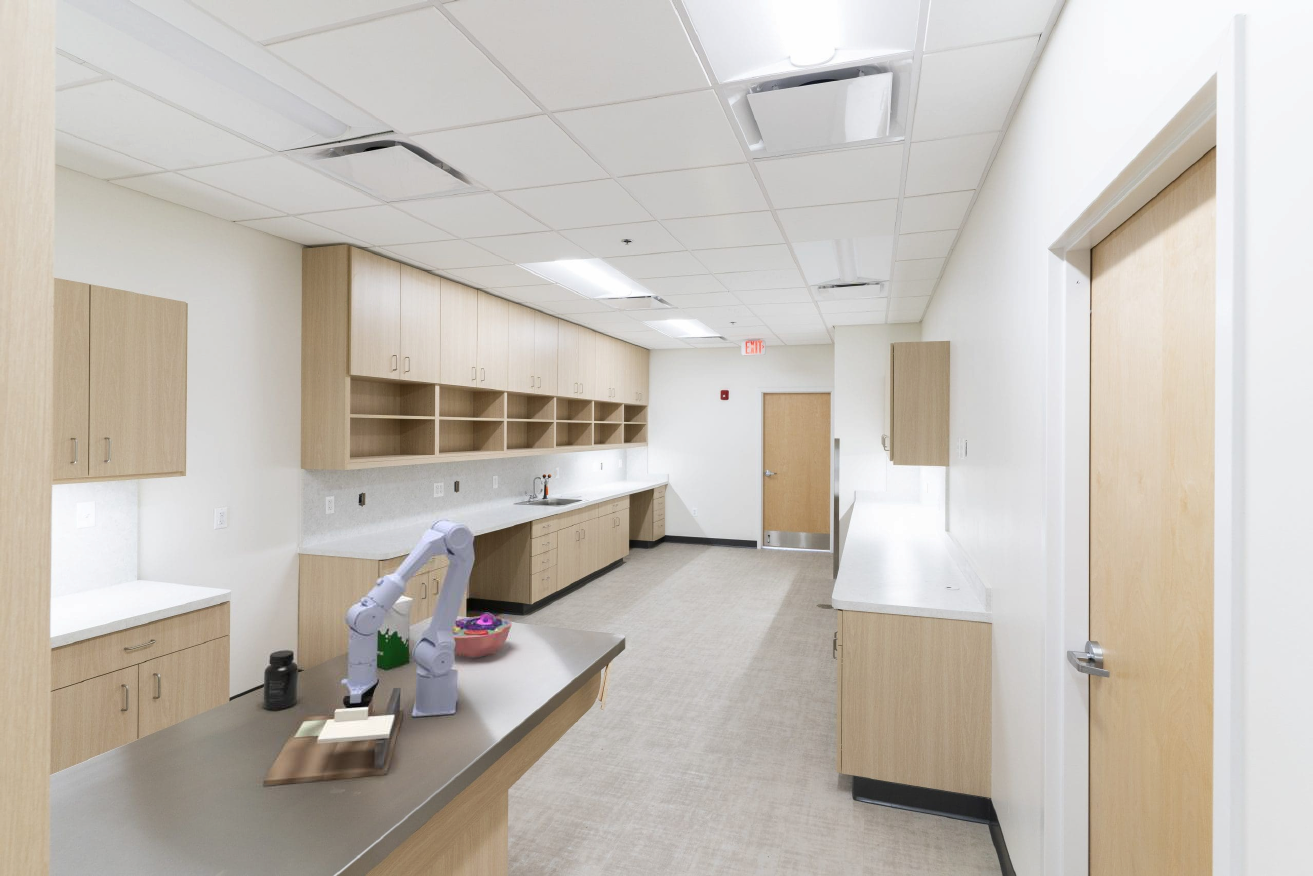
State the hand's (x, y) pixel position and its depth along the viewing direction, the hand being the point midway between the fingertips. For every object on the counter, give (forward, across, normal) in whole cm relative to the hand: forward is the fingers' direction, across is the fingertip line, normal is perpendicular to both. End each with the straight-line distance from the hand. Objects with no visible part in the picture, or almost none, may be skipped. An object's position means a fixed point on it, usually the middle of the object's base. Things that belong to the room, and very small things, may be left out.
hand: (360, 721), depth 138 cm
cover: (-5, +14, +2) cm, 15 cm away
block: (+2, 0, 0) cm, 2 cm away
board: (+2, +7, -3) cm, 7 cm away
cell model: (+2, -42, +24) cm, 48 cm away
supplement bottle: (+2, -16, -20) cm, 26 cm away
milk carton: (+2, -38, +1) cm, 38 cm away
